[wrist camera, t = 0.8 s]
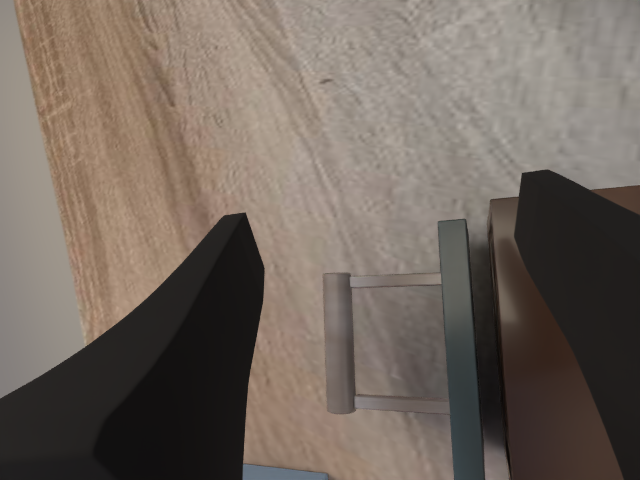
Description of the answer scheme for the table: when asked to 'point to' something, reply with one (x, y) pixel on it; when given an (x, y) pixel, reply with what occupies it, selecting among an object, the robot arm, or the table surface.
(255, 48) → the table surface
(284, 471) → the tissue pack
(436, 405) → the drawer
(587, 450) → the cabinet
